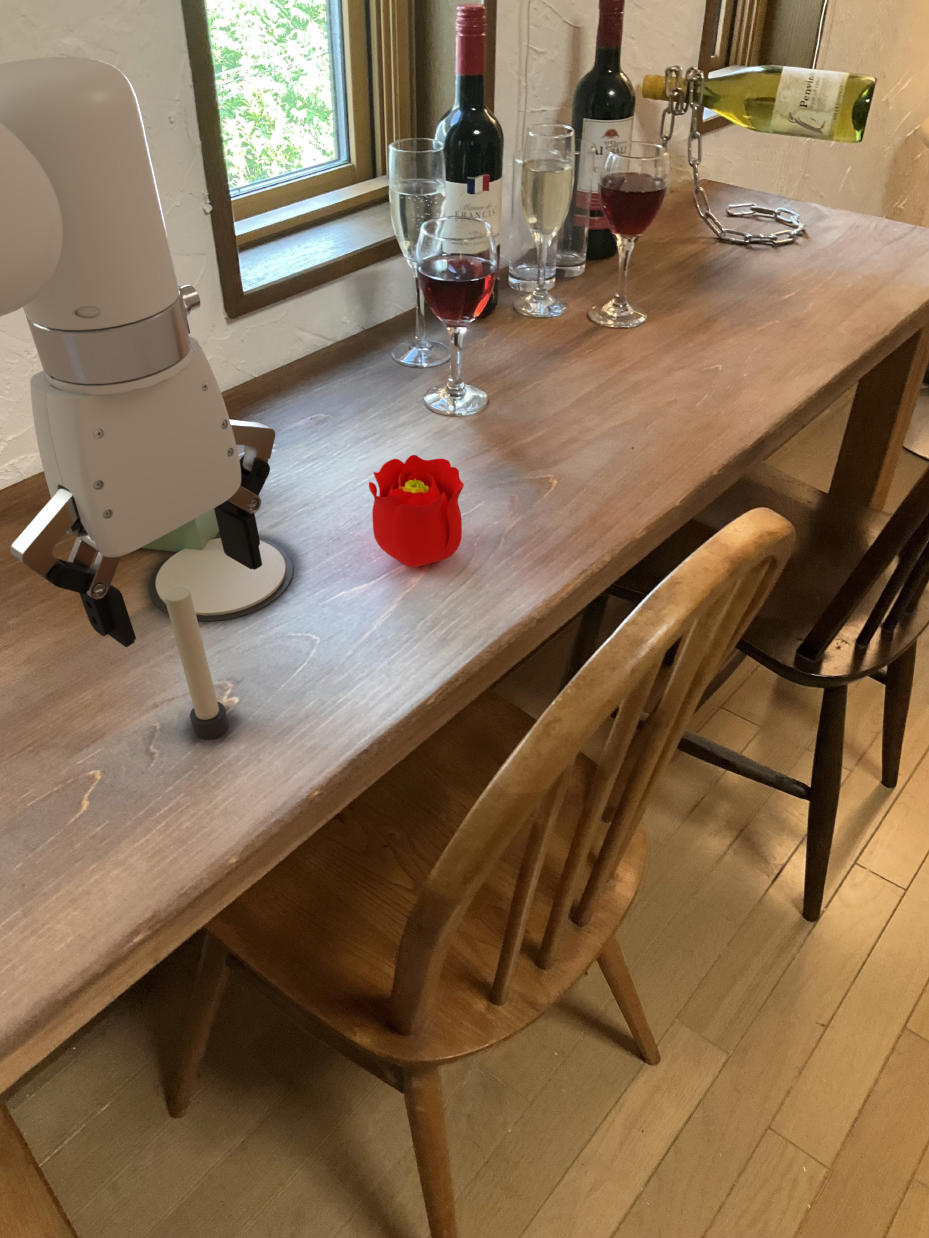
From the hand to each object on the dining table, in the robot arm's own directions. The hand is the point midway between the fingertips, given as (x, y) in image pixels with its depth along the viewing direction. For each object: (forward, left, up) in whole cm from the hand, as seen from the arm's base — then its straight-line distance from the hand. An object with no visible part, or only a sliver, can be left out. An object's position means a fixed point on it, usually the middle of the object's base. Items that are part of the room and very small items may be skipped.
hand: (183, 596), depth 60 cm
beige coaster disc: (-6, +17, -12) cm, 21 cm away
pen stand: (-14, +25, -12) cm, 31 cm away
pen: (0, 0, -12) cm, 12 cm away
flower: (+10, +23, -12) cm, 27 cm away
